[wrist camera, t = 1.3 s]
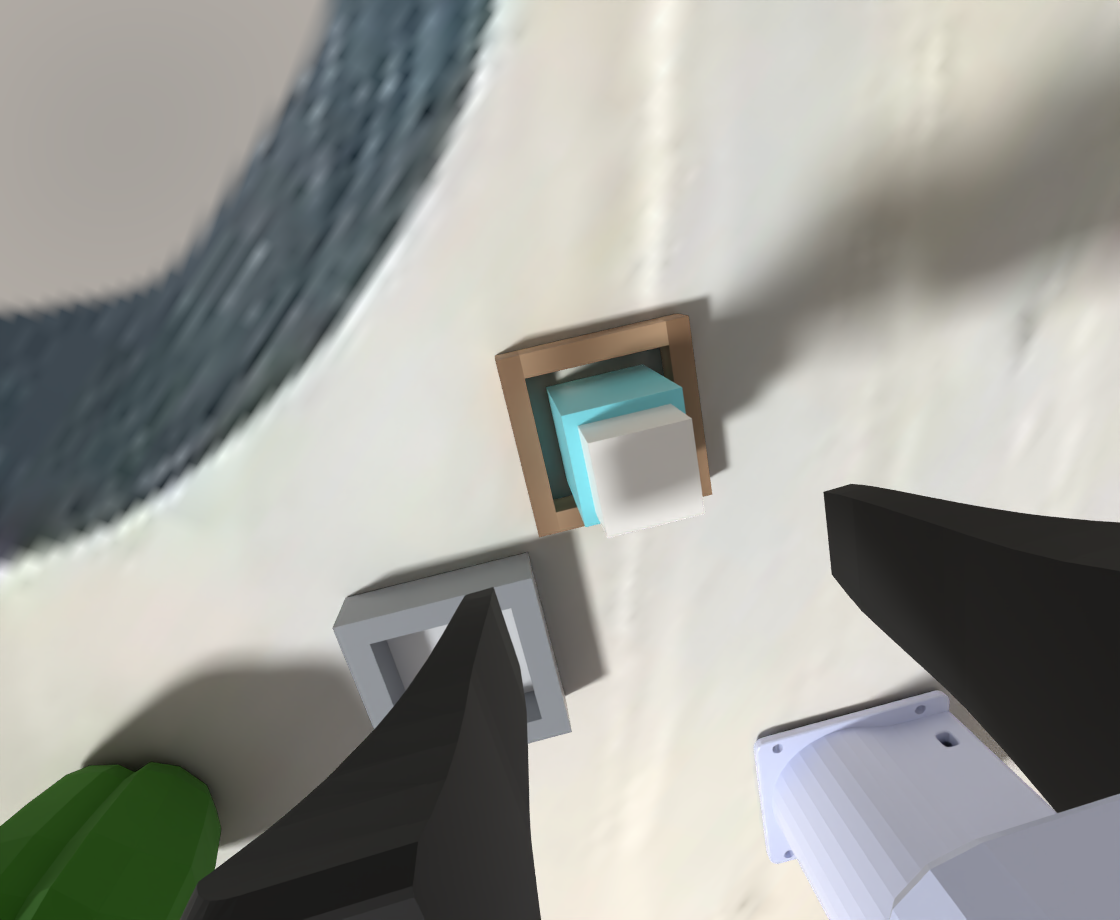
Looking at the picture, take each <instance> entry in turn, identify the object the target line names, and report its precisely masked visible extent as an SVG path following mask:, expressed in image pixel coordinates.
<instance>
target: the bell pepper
mask: <svg viewBox="0 0 1120 920" xmlns="http://www.w3.org/2000/svg"><path fill="white" fill-rule="evenodd" d="M220 834H221V826H220V822H219V818H218V813H217V810H216V807H215V805H214V802H213V800H212V797H211V794H210V792H209V789H208V787H207V785H206V784H205V783H203V782H202V781H200V780H199V779H197V778H196V777H194V776H193V775H192V774H190V773H189V772H187V771H186V770H184V769H183V768H182V767H180V766H174V765H167V764H161V763H155V762H150V763H148V764H147V765H145V766H144V767H142V768H141V769H139V770H138V771H136V772H133V771H131V770H129V769H127V768H125V767H123V766H120V765H91V766H88V767H85V768H83V769H80V770H78V771H75V772H73V773H70V774H68V775H65V776H64V777H63V778H61V779H60V780H59V781H57V782H56V783H55V784H53V785H52V786H51V787H49V788H48V789H47V790H45V791H44V792H43V793H41V794H40V795H39V796H37V797H36V798H35V799H33V800H32V801H31V802H29V803H28V804H27V805H26V806H24V807H23V808H22V809H21V810H19V811H18V812H17V813H16V814H15V815H13V816H12V817H11V818H10V819H8V820H7V821H6V822H5V823H4V824H2V825H1V826H0V920H180V918H181V916H182V914H183V912H184V910H185V908H186V906H187V903H188V901H189V899H190V897H191V895H192V893H193V891H194V889H195V887H196V885H197V883H198V881H200V880H201V879H202V878H204V877H205V876H207V875H208V874H210V873H211V872H212V871H214V870H215V865H216V859H217V853H218V846H219V840H220Z"/></svg>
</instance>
